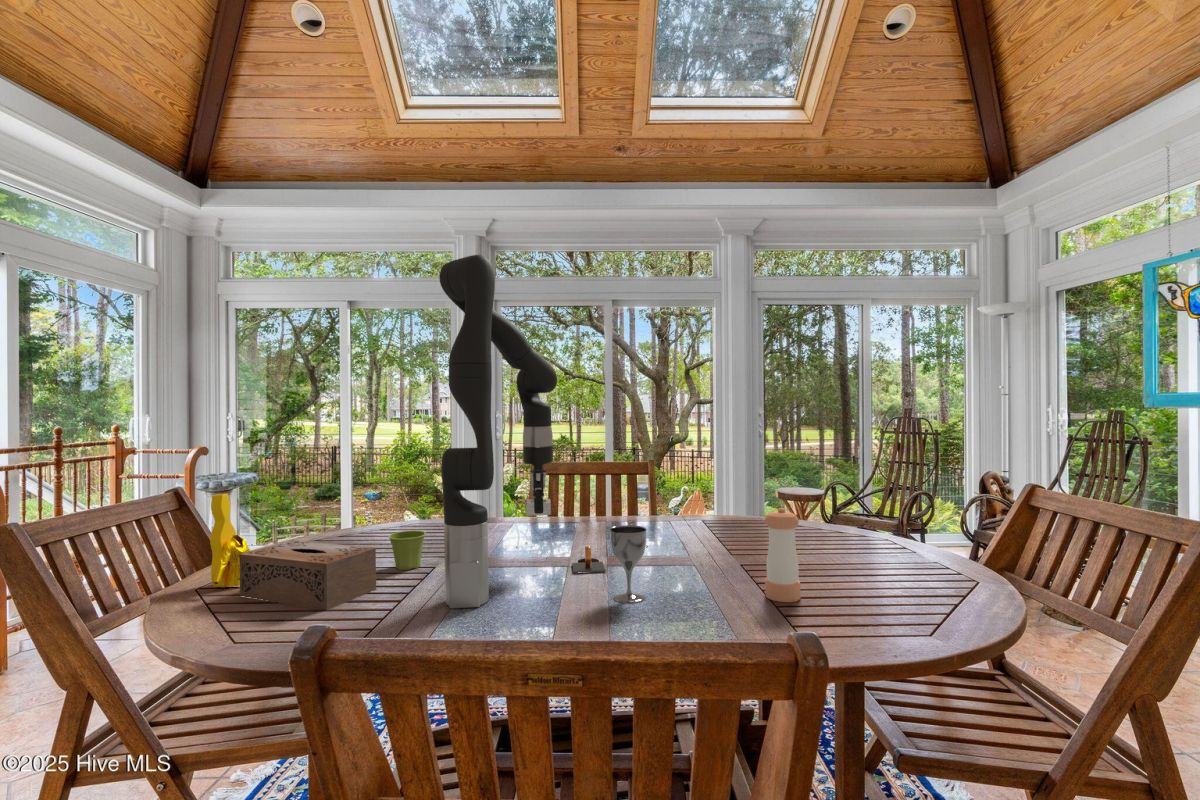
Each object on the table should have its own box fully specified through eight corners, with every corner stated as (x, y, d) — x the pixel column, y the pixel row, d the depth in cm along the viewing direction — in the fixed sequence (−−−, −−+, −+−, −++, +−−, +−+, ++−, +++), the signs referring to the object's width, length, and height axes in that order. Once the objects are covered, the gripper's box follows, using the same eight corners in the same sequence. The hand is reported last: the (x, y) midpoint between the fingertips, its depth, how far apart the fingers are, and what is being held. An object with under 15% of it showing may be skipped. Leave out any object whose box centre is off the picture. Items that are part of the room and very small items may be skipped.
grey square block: (550, 514, 149) (550, 502, 149) (526, 515, 148) (526, 503, 148) (550, 510, 155) (550, 498, 155) (527, 511, 154) (526, 499, 154)
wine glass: (617, 605, 126) (615, 534, 126) (606, 594, 133) (605, 526, 133) (652, 601, 128) (651, 531, 128) (640, 590, 136) (639, 524, 136)
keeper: (605, 572, 150) (605, 550, 150) (573, 573, 149) (573, 551, 149) (602, 563, 158) (602, 542, 158) (572, 565, 157) (571, 543, 157)
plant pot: (420, 572, 153) (419, 538, 153) (383, 572, 154) (382, 538, 154) (431, 562, 163) (430, 530, 163) (396, 562, 163) (396, 530, 163)
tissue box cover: (376, 590, 140) (375, 547, 140) (327, 611, 126) (326, 563, 126) (293, 580, 149) (293, 540, 149) (240, 598, 136) (239, 554, 136)
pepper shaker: (758, 593, 132) (757, 506, 132) (785, 589, 135) (784, 504, 135) (779, 604, 125) (778, 512, 125) (807, 599, 128) (806, 509, 128)
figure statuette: (225, 597, 136) (223, 499, 136) (189, 597, 136) (188, 500, 136) (266, 574, 154) (265, 488, 154) (235, 575, 154) (234, 489, 154)
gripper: (523, 442, 159) (524, 506, 158) (522, 446, 144) (523, 516, 144) (552, 442, 159) (553, 505, 159) (553, 446, 145) (554, 515, 145)
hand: (538, 510), depth 152 cm, fingers closed on grey square block, 6 cm apart
